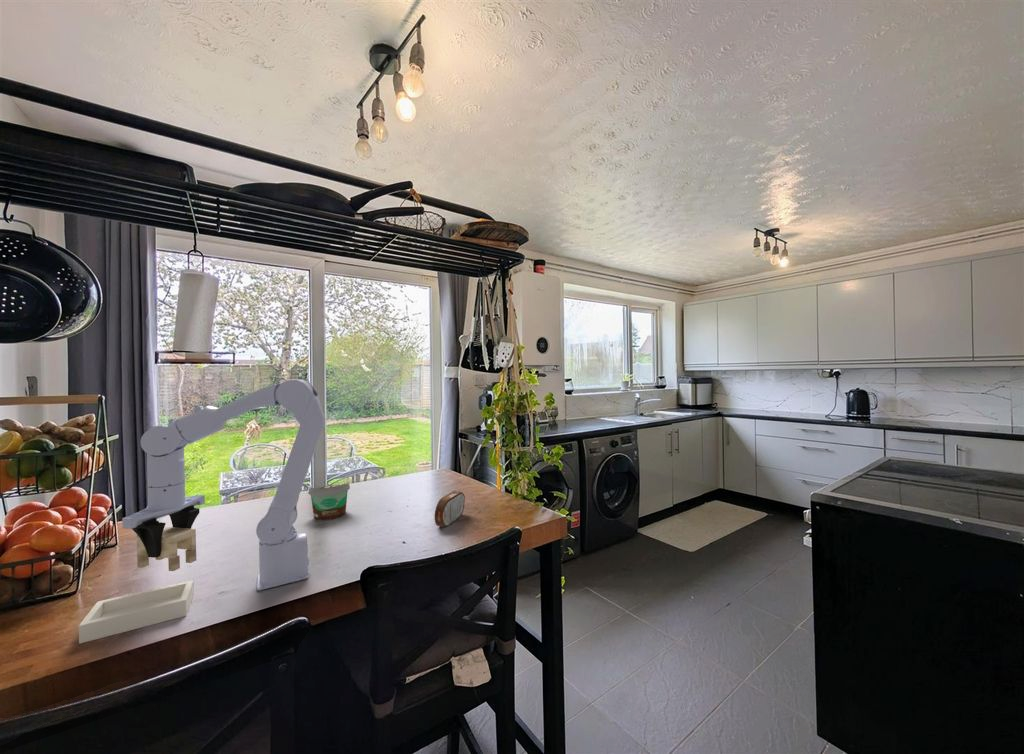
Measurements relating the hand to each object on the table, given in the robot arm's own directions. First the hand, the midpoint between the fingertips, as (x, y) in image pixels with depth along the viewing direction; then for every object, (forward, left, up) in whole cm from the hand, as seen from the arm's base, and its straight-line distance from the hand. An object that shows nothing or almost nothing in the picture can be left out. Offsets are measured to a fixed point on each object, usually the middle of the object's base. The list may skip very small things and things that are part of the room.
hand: (167, 550), depth 79 cm
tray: (+3, +6, -9) cm, 11 cm away
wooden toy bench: (0, 0, -3) cm, 3 cm away
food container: (-34, -31, -10) cm, 47 cm away
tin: (-64, -6, -10) cm, 65 cm away
